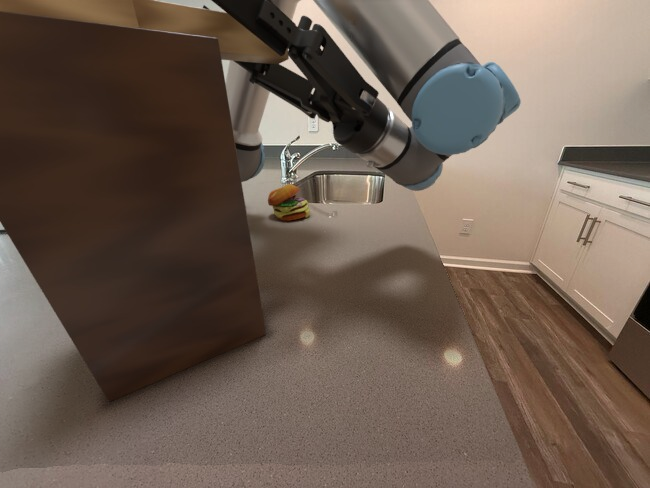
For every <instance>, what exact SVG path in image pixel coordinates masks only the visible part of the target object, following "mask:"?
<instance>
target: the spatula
mask: <svg viewBox="0 0 650 488" xmlns="http://www.w3.org/2000/svg"><path fill="white" fill-rule="evenodd" d="M209 9H210V8H209ZM209 9H203V7H198V6H197V7H196V6H191V5H185V4H178V3H173V2H168V1H161V0H0V11H6V12H14V13H22V14H30V15H38V16H46V17H54V18H62V19H70V20H78V21H86V22H94V23H102V24H110V25H118V26H126V27H134V28H142V29H150V30H158V31H166V32H174V33H181V34H189V35H197V36H205V37H213V38H218V41H219V47H220V53H221V59H222V61H230V60H231V61H243V62H254V63H266V64H277V65H278V64H280V65H281V64H282V63H285V62H286V61H288V60H290V57H289V56H288V51H289V49H288V48H287V49H286V52H285V54H284V55H283V56H280V55H279V54H277V53H276V52H275V51H274V50H273V49H271V48H270V47H269V46H268V45H266V44H265V43H264V42H263V41H261V40H260V39H259V38H258V37H256V36H255V35H254V34H253V33H251V32H250V31H249V30H248V29H246V28H245V27H244V26H243V25H241V24H240V23H239V22H238V21H236V20H235V19H234V18H233V17H231V16H230V15H229V14H228V13H226V12H225V11H220V10H214V9H210V10H209Z"/></svg>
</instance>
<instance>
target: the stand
mask: <svg viewBox="0 0 650 488" xmlns="http://www.w3.org/2000/svg"><path fill="white" fill-rule="evenodd" d="M225 81H226V77H225V72H224V66H223V60H222V59H221V53H220V47H219V41H218V38H213V37H205V36H197V35H189V34H181V33H174V32H166V31H158V30H150V29H142V28H134V27H126V26H118V25H110V24H102V23H94V22H86V21H78V20H70V19H62V18H54V17H46V16H38V15H30V14H22V13H14V12H6V11H0V224H1V226H2V228H3V230H5V231H6V232H7V233H6V234H7V236H8V238H9V239H10V241H11V243H12V244H13V246H14V247H15V249H16V250H17V253H18V254H19V255H20V257H21V259H22V260H23V262H24V264H25V265H26V268H27V269H28V270H29V272H30V273H31V276H32V277H33V279H34V280H35V282H36V284H37V285H38V287H39V289H40V291H41V292H42V293H43V296H44V297H45V298H46V301H47V302H48V303H49V305H50V307H51V308H52V310H53V312H54V313H55V316H56V317H57V318H58V320H59V322H60V323H61V325H62V327H63V329H64V331H65V332H66V333H67V335H68V337H69V338H70V340H71V342H72V343H73V345H74V347H75V348H76V350H77V351H78V353H79V354H80V356H81V358H82V360H83V361H84V364H86V366H87V368H88V369H89V371H90V373H91V374H92V376H93V378H94V380H95V381H96V383H97V385H98V386H99V388H100V389H101V391H102V393H103V394H104V396H105V397H106V400H107V401H108V402H113V401H114V400H117V399H120V398H122V397H124V396H127V395H129V394H131V393H134V392H135V391H138V390H140V389H143V388H145V387H147V386H149V385H152V384H154V383H156V382H159V381H162V380H163V379H166V378H168V377H170V376H173V375H175V374H177V373H179V372H182V371H184V370H186V369H189V368H191V367H194V366H196V365H198V364H201V363H203V362H205V361H207V360H210V359H212V358H214V357H217V356H219V355H221V354H225V353H226V352H228V351H230V350H233V349H236V348H238V347H240V346H242V345H245V344H247V343H249V342H251V341H254V340H257V339H258V338H260V337H263V336H265V335H267V331H266V323H265V318H264V317H265V316H264V313H263V306H262V305H263V304H262V300H261V293H260V288H259V282H258V281H259V280H258V275H257V268H256V262H255V257H254V251H253V250H254V249H253V243H252V237H251V233H250V227H249V220H248V213H247V208H246V202H245V195H244V188H243V182H241V176H240V170H239V164H238V158H237V152H236V145H235V139H234V133H233V127H232V121H231V115H230V109H229V102H228V96H227V90H226V84H225Z"/></svg>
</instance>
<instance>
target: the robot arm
mask: <svg viewBox="0 0 650 488" xmlns="http://www.w3.org/2000/svg"><path fill="white" fill-rule="evenodd" d="M210 1H211V2H213V4H215V5H217V6H218V7H219V8H220V9H222V11H223V12H226V13H228V14H229V15H230V16H231V17H233V18H234V19H235V20H236V21H238V22H239V23H240V24H241V25H243V26H244V27H245V28H246V29H248V30H249V31H250V32H251V33H253V34H254V35H255V36H256V37H258V38H259V39H260V40H261V41H263V42H264V43H265V44H266V45H268V46H269V47H270V48H271V49H273V50H274V51H275V52H276V53H277V54H279V55H280V56H283V55H284V54H285V52H286V49H287V48H288V57H289V59H291V61H292V62H293V63H294V65H295V66H296V67H297V68H298V69H299V71H300V72H301V73H302V75H303V76H304V77H303V76H302V75H300V74H298V73H296V72H294V71H292V70H291V69H289V68H287V67H286V66H284V65H282V64H281V63H280V64H278V65H277V64H266V63H254V62H243V61H231V60H229V62H228V67H227V72H226V77H225V84H226V90H227V96H228V102H229V109H230V115H231V121H232V127H233V133H234V139H235V145H236V152H237V158H238V164H239V170H240V176H241V182H242V183H244V182H248V181H249V180H251V179H253V178H255V177H257V176H258V175H259V174H260V173H261V172H262V170H263V168H264V166H265V162H266V153H264V150H265V147H264V144H263V136H262V134H261V132H260V130H259V128H260V125H261V122H262V119H263V116H264V112H265V109H266V106H267V102H268V101H269V96H270V93H272V94H273V95H274V96H277V97H278V98H279V99H281V100H283V101H284V102H286V103H288V104H289V105H291V106H293V107H294V108H296V109H297V110H299V111H301V112H302V113H303V114H305V115H306V116H307V117H308V118H310V119H314V120H315V119H316V116H317V118H318V119H320V120H322V121H324V122H326V123H331V124H332V134H333V135H332V136H333V139H334V140H335V142H336V143H337V144H339V145H340V146H341V147H343V148H344V149H346V150H347V151H349V152H351V153H352V154H355V155H356V156H357V157H359V158H360V159H362V160H363V161H365V162H367V163H366V167H367V168H369V169H373V167H374V168H375V169H376V170H378V171H380V172H381V173H382V174H384V175H385V176H387V177H388V178H390V179H391V180H392V181H393V182H394V183H395V184H396V185H399V186H402V187H403V188H405V189H408V190H410V191H414V192H420V191H424V190H426V189H429V188H430V187H431V186H433V185H434V184H436V181H437V180H438V178H440V177H441V175H442V172H443V167H444V164H443V163H444V162H446V161H447V160H449V158H450V157H452V156H453V155H460V154H465V153H467V152H468V151H470V150H473V149H476V148H478V147H479V146H480V145H482V144H483V143H485V142H486V141H487V140H488V138H489V136H491V134H493V133H494V132H495V131H496V129H497V126H499V125H500V124H502V123H503V122H504V120H506V119H507V118H508V117H509V116H511V115H512V114H514V113H515V112H516V111H517V110H518V109H519V108H520V106H521V104H522V103H521V101H522V100H521V98H520V95H519V92H518V91H517V89H516V87H515V85H514V84H513V82H512V80H511V79H510V78H509V76H508V75H507V74H506V72H505V71H504V69H502V68H501V66H500V65H499V64H497V62H494V61H489V62H486V63H484V64H483V65H482V64H481V63H480V62H479V61H478V60H477V58H476V57H475V56H474V54H473V52H471V51H470V50H469V48H468V47H467V46H465V44H463V42H462V41H461V40H460V37H459V36H458V34H457V33H456V32H455V31H454V29H452V27H451V26H450V25H449V24H448V22H447V21H446V19H444V16H442V14H441V13H440V12H439V11H438V10H437V8H435V6H434V4H432V3H431V1H430V0H312V1H313V2H314V4H315V5H316V6H317V7H318V8H319V9H320V11H321V12H322V13H323V14H324V16H325V17H326V18H327V19H328V20H329V22H330V23H331V24H332V26H333V27H334V28H335V29H336V30H337V32H338V33H339V35H341V37H342V38H343V39H344V40H345V41H346V43H347V44H348V45H349V46H350V48H352V50H353V51H354V52H355V53H356V55H357V56H358V57H359V58H360V59H361V61H362V62H363V63H364V64H365V66H366V67H367V68H368V69H369V70H370V72H371V73H372V74H373V76H375V78H376V79H377V80H378V81H379V83H380V84H381V85H382V87H383V88H384V89H385V90H386V91H387V92H388V93H389V95H390V96H391V97H392V98H393V100H394V101H395V103H397V105H398V107H400V109H401V111H402V112H403V114H404V115H405V116H406V117H407V118H408V120H409V121H410V122H411V126H410V127H409V126H408V125H407V124H406V123H405V122H403V120H402V119H401V118H400V117H399V116H397V115H396V113H395V112H394V111H393V110H391V108H389V107H387V105H386V104H385V103H384V102H383V101H381V100H380V99H379V98H378V96H379V95H380V93H379V91H378V90H377V89H376V88H375V87H374V86H373V85H371V84H370V83H369V82H368V81H366V80H365V78H364V77H363V76H362V74H361V73H360V72H359V71H358V70H357V68H356V67H355V66H354V64H353V63H352V62H351V60H350V59H349V58H348V57H347V55H346V54H345V53H344V52H343V51H342V49H341V48H340V47H339V45H338V44H337V43H336V42H335V40H334V39H333V38H332V35H330V34H329V32H328V31H327V30H326V28H325V27H323V26H322V25H321V24H319V23H313V20H312V19H311V18H310V17H309V16H307V15H301V16H300V19H299V22H298V24H297V23H295V22H294V21H293V19H294V15H295V13H296V9H297V6H298V4H299V3H300V2H301V1H302V0H210ZM202 8H203V9H209V10H211V9H210V8H209V7H208V6H206V5H205V4H203V6H202ZM296 24H297V25H296ZM312 24H313V26H312ZM311 27H312V28H311ZM321 47H322V49H321ZM312 92H313V93H312ZM0 234H7V232H6V231H5V229H0Z"/></svg>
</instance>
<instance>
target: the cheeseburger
mask: <svg viewBox="0 0 650 488" xmlns="http://www.w3.org/2000/svg"><path fill="white" fill-rule="evenodd" d="M299 191H300V188H298V186H296V185H294V184H291V183H287V184H285V185H283V186H281V187H279V188H276V189H274V190H271V191H270V192H269V194H268V196H267V204H268V206H271V207H272V209H273V214H274V215H275V216H276V218H277V219H278V220H280V221H282V222H283V221H284V222H286V221H287V222H289V221H294V220H299V219H303V218H309V216H310V214H311V209H310V208H309V205H308V204H309V202H308V200H306V198H305V197H297V196H298V194H297V193H298V192H299Z"/></svg>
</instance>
